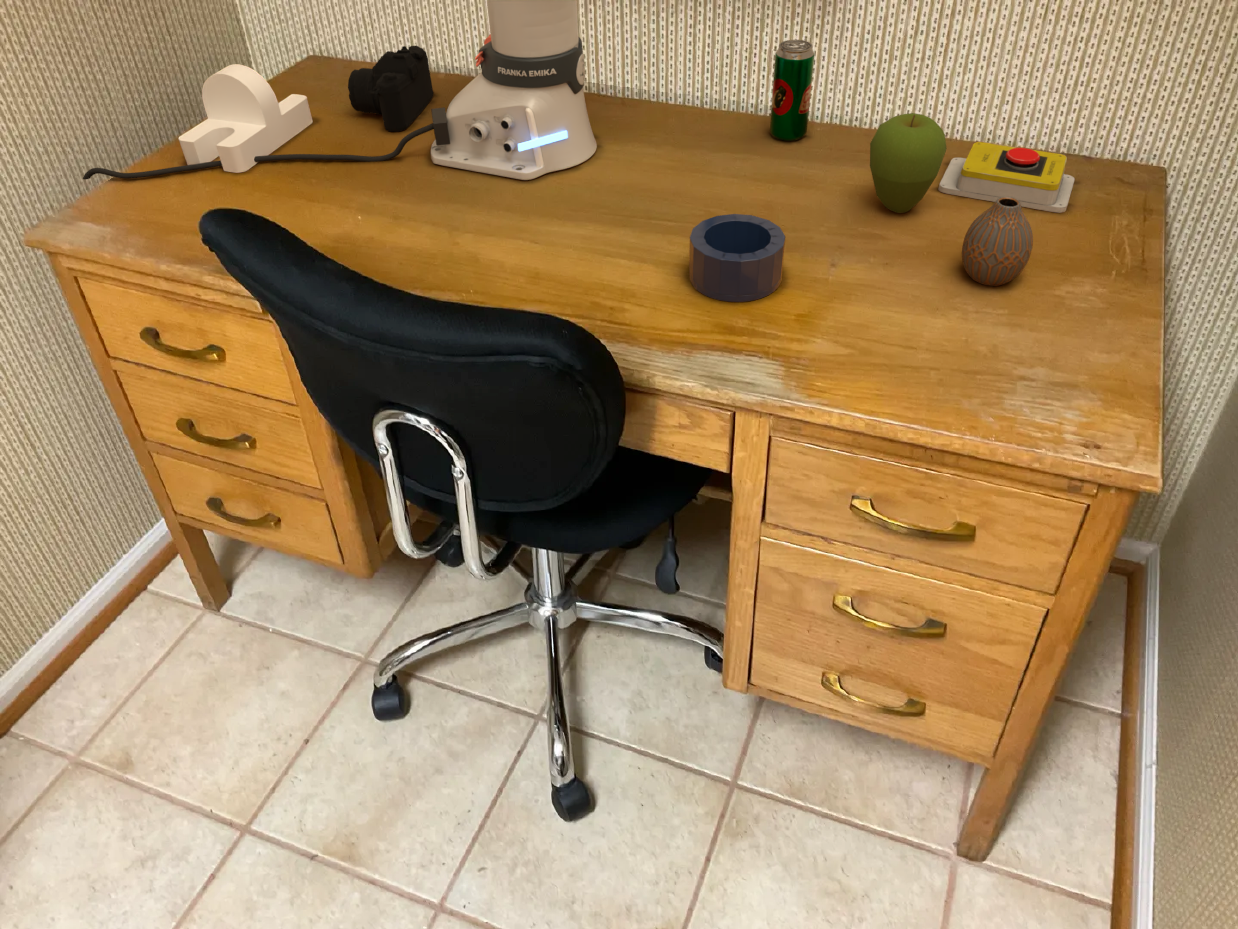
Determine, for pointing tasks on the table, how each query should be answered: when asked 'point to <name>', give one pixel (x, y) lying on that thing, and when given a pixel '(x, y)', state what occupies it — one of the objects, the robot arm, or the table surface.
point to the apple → (906, 159)
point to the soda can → (791, 90)
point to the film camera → (393, 87)
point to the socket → (736, 257)
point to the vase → (998, 243)
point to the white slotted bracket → (242, 120)
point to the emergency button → (1010, 176)
